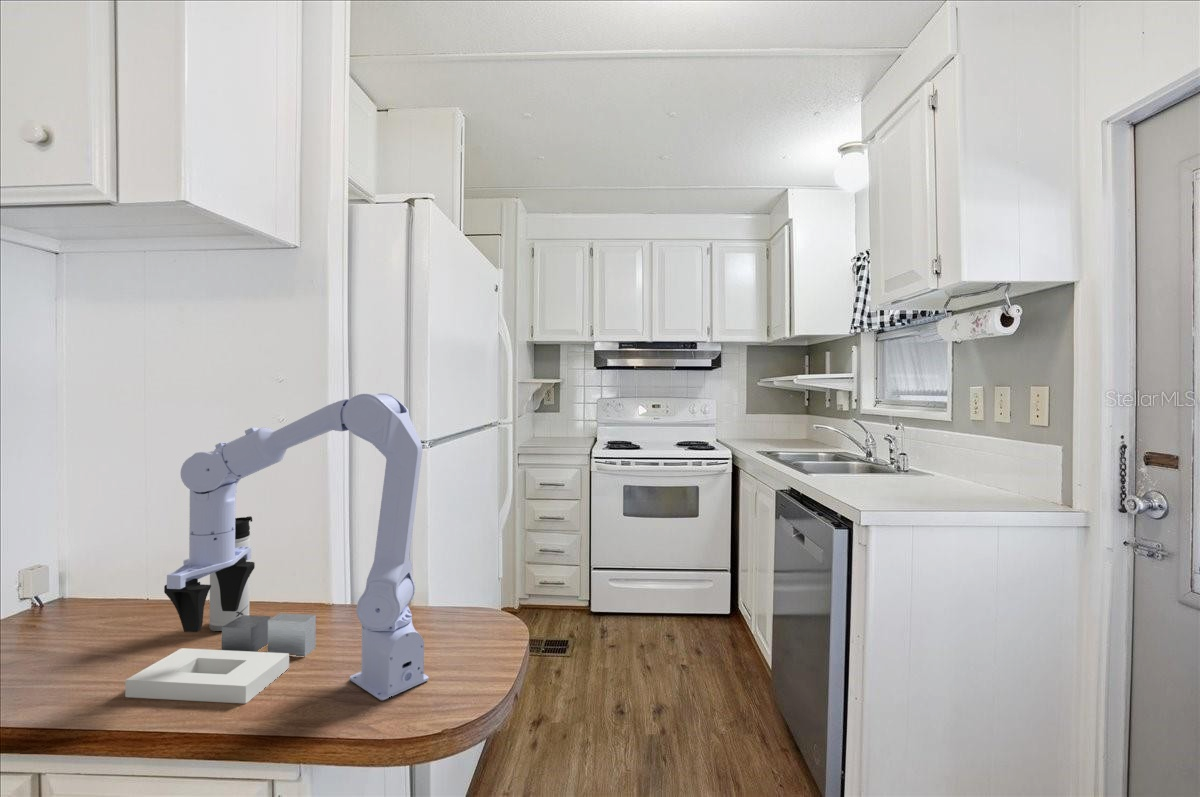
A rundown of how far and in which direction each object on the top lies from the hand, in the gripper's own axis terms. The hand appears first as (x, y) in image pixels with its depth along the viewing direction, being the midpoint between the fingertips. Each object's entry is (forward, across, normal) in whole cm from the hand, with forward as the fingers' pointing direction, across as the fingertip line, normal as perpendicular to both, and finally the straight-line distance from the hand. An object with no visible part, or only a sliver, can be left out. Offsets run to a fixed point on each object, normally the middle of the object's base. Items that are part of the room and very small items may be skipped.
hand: (212, 620), depth 85 cm
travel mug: (+10, -20, -12) cm, 25 cm away
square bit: (+10, -10, -2) cm, 14 cm away
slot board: (+9, 0, 0) cm, 9 cm away
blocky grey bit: (+10, -10, +6) cm, 15 cm away
